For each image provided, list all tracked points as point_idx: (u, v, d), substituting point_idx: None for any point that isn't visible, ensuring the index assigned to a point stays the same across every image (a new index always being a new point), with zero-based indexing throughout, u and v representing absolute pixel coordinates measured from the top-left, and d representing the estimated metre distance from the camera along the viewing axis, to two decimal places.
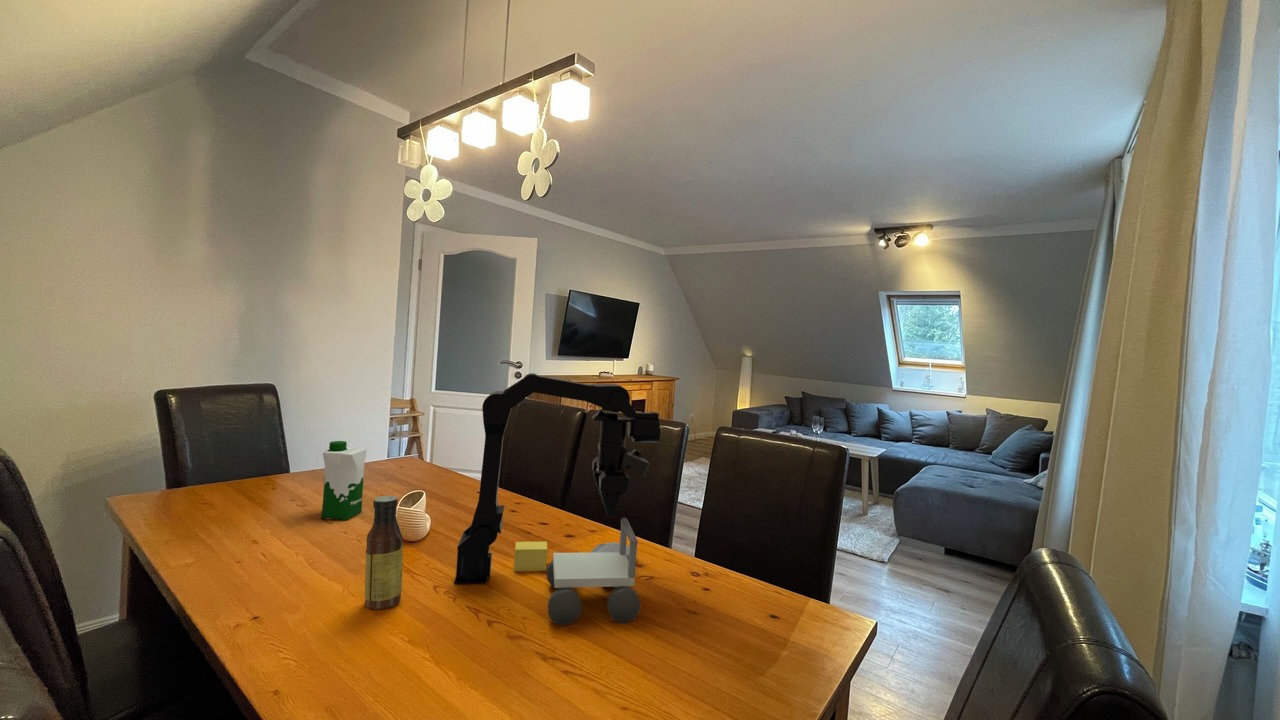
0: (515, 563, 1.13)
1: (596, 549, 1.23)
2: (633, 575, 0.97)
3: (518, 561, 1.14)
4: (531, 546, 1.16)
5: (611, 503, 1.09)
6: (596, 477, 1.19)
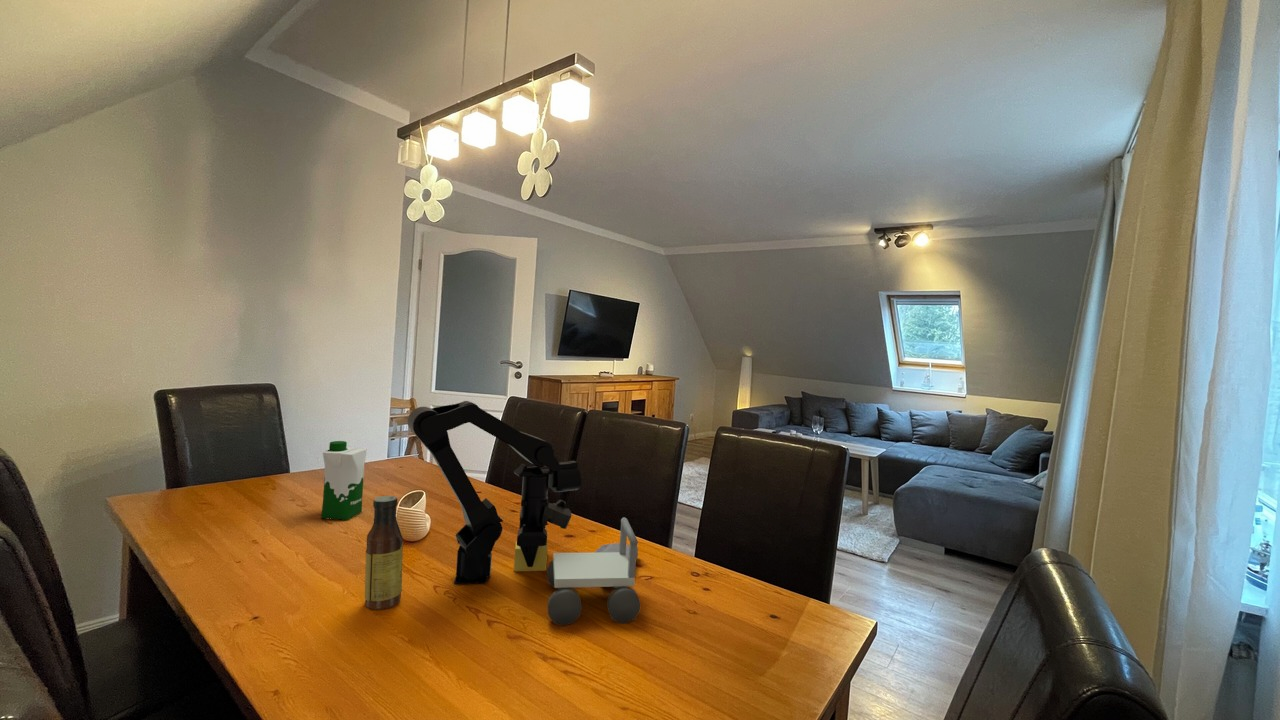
0: (515, 562, 1.13)
1: (600, 550, 1.23)
2: (633, 575, 0.97)
3: (518, 560, 1.14)
4: None
5: (530, 553, 1.13)
6: None
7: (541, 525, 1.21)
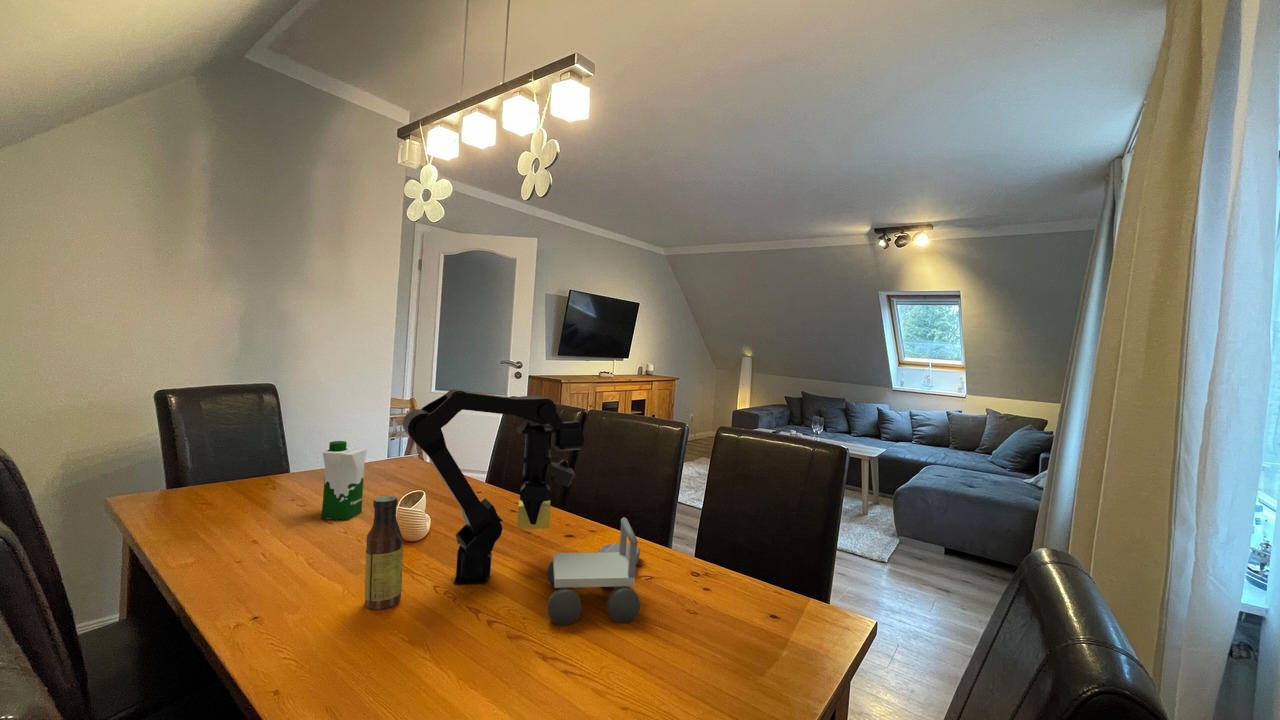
0: (518, 520, 1.13)
1: (602, 550, 1.23)
2: (633, 575, 0.97)
3: (521, 518, 1.13)
4: None
5: (533, 510, 1.13)
6: None
7: None
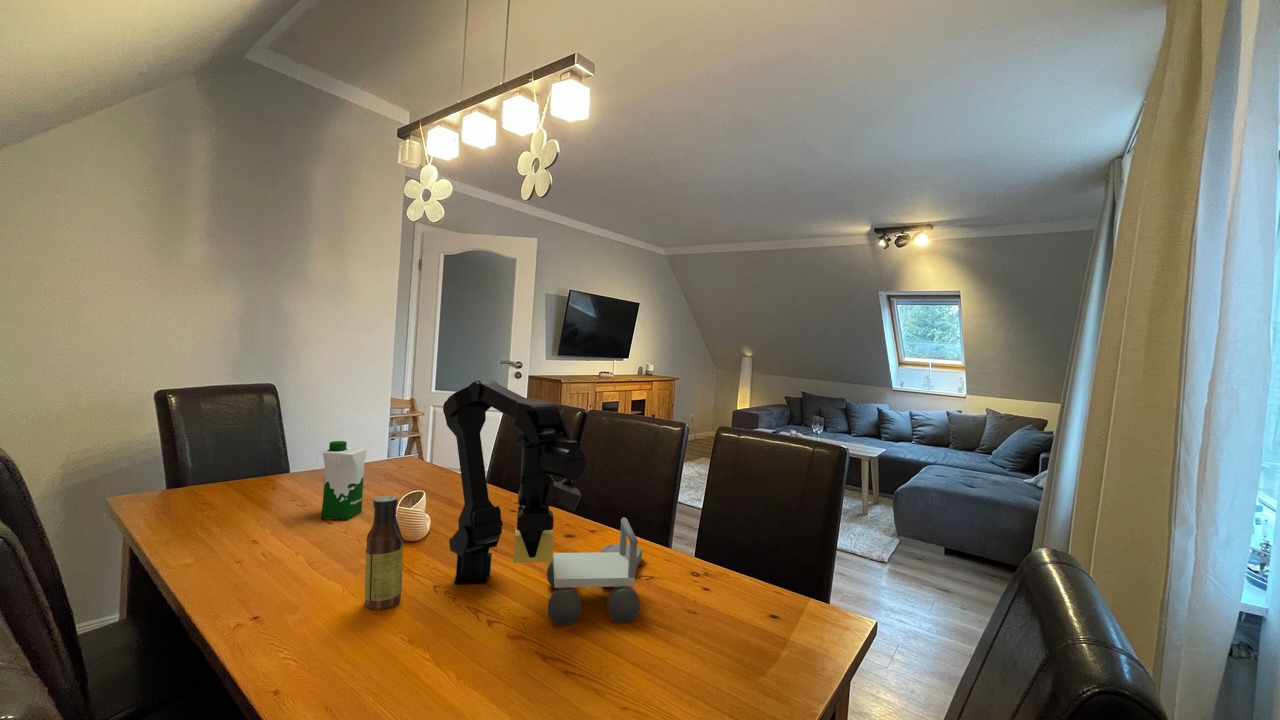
0: (515, 552, 0.94)
1: (604, 550, 1.22)
2: (633, 575, 0.97)
3: (518, 550, 0.94)
4: None
5: (532, 541, 0.93)
6: None
7: None
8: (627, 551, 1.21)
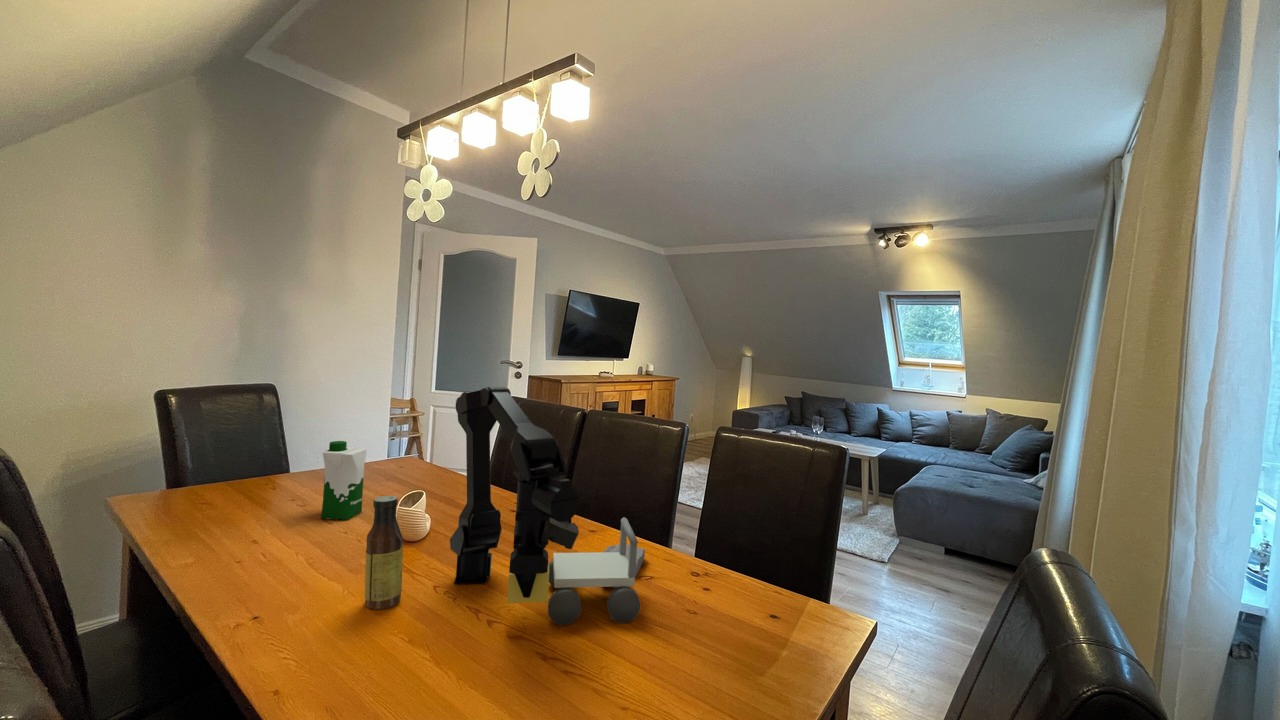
0: (509, 592, 0.90)
1: (607, 551, 1.22)
2: (633, 575, 0.97)
3: (512, 589, 0.90)
4: None
5: (527, 581, 0.89)
6: None
7: (541, 543, 0.97)
8: None
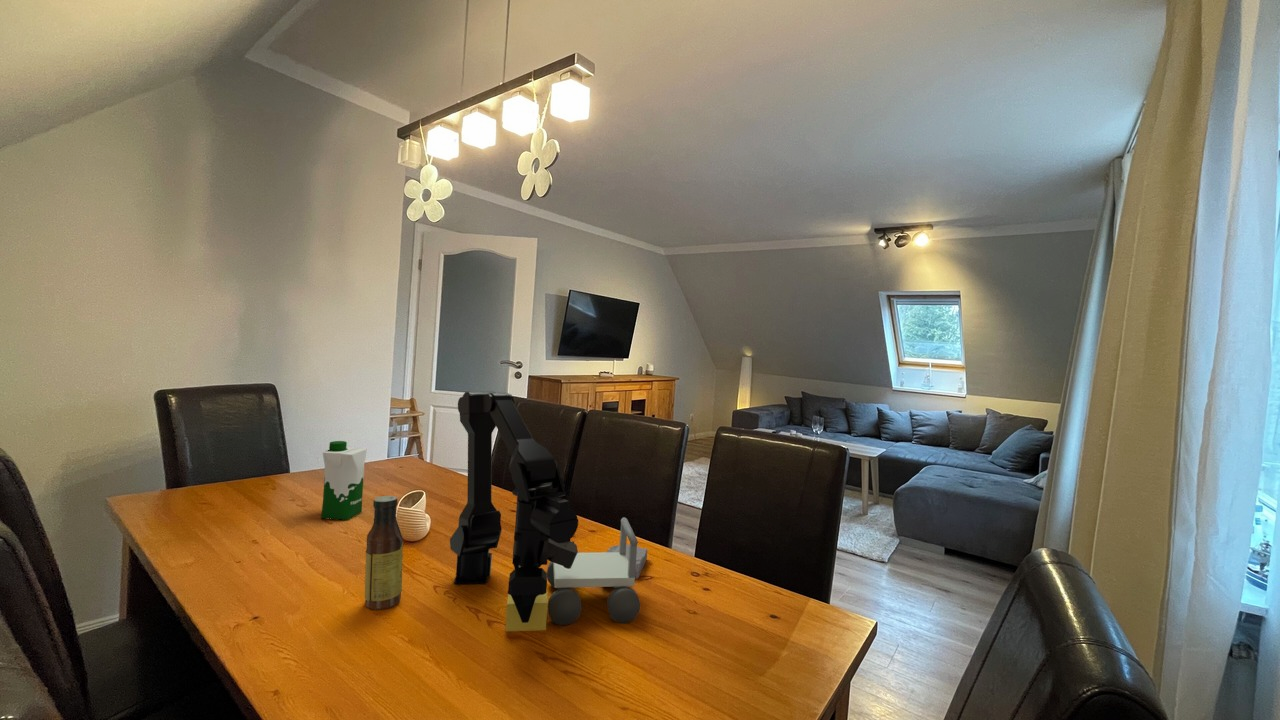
0: (507, 621, 0.90)
1: (609, 551, 1.22)
2: (633, 575, 0.97)
3: (510, 619, 0.90)
4: None
5: (525, 606, 0.87)
6: (516, 566, 0.97)
7: None
8: None
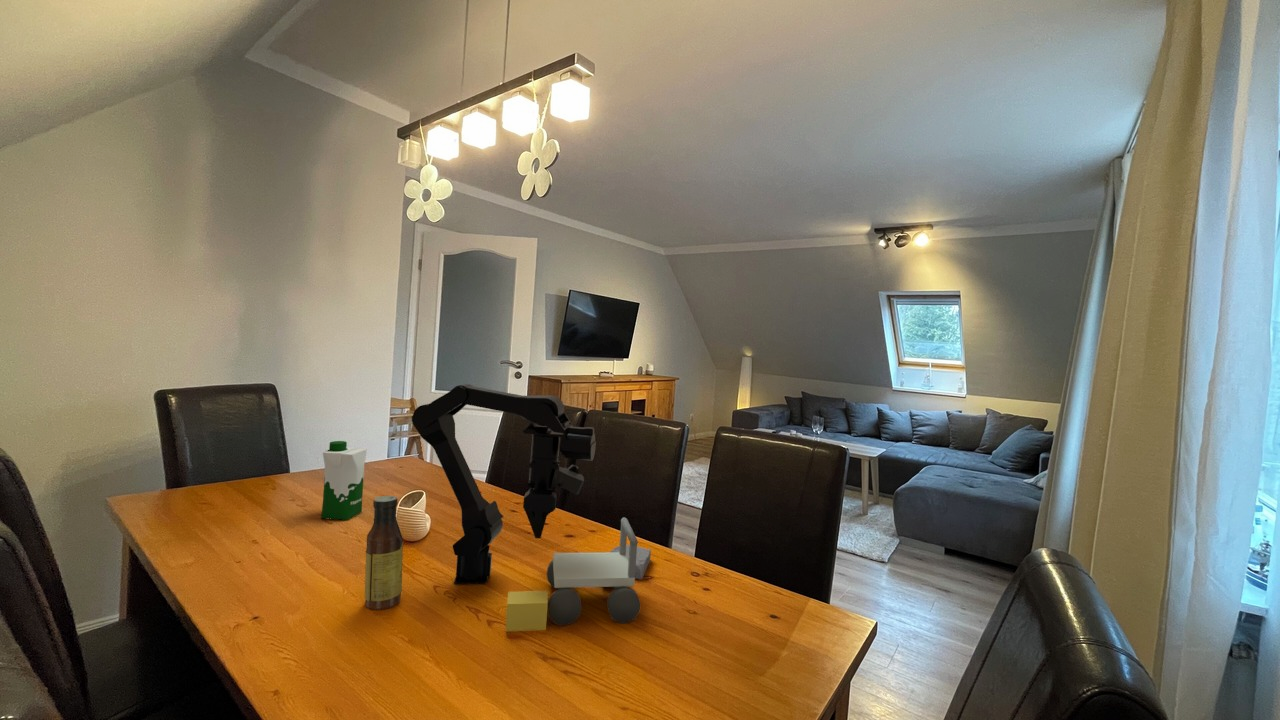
0: (507, 621, 0.90)
1: None
2: (633, 575, 0.97)
3: (510, 619, 0.90)
4: (527, 599, 0.92)
5: (538, 523, 1.02)
6: None
7: (552, 489, 1.14)
8: None
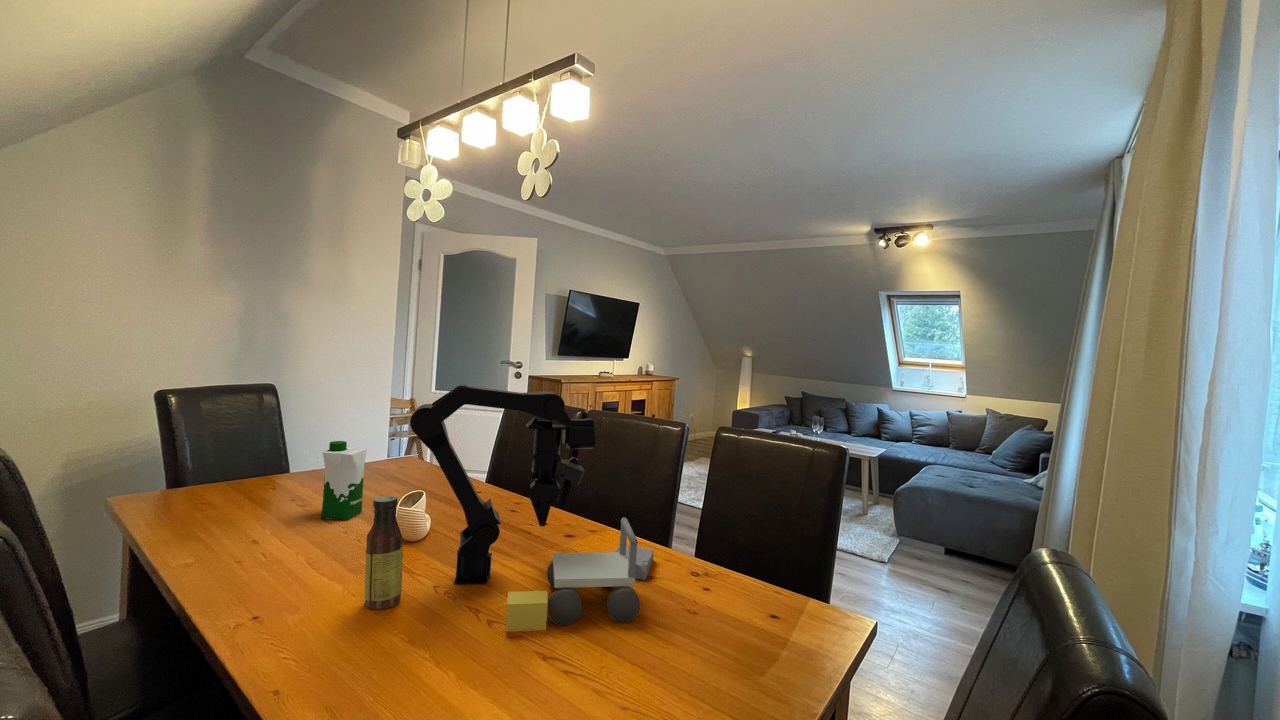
0: (507, 621, 0.90)
1: None
2: (633, 575, 0.97)
3: (511, 619, 0.90)
4: (527, 599, 0.92)
5: (542, 512, 1.08)
6: None
7: (553, 480, 1.20)
8: (639, 553, 1.20)
